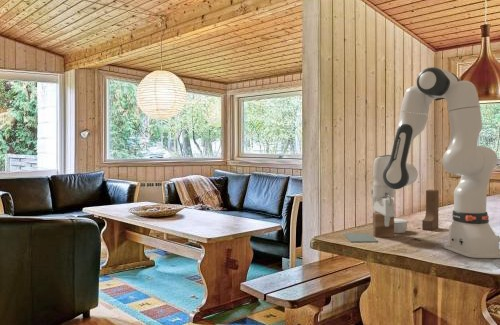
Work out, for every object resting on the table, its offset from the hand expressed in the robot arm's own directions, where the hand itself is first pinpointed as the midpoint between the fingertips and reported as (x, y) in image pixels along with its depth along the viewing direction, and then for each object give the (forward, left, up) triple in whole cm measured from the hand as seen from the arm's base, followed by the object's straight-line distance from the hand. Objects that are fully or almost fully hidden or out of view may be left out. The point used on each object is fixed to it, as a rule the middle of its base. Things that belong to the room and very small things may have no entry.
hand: (383, 224), depth 196 cm
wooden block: (+15, -26, -5) cm, 30 cm away
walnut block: (0, 0, -5) cm, 5 cm away
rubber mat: (-4, +11, -5) cm, 13 cm away
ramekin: (+10, -8, -6) cm, 14 cm away
